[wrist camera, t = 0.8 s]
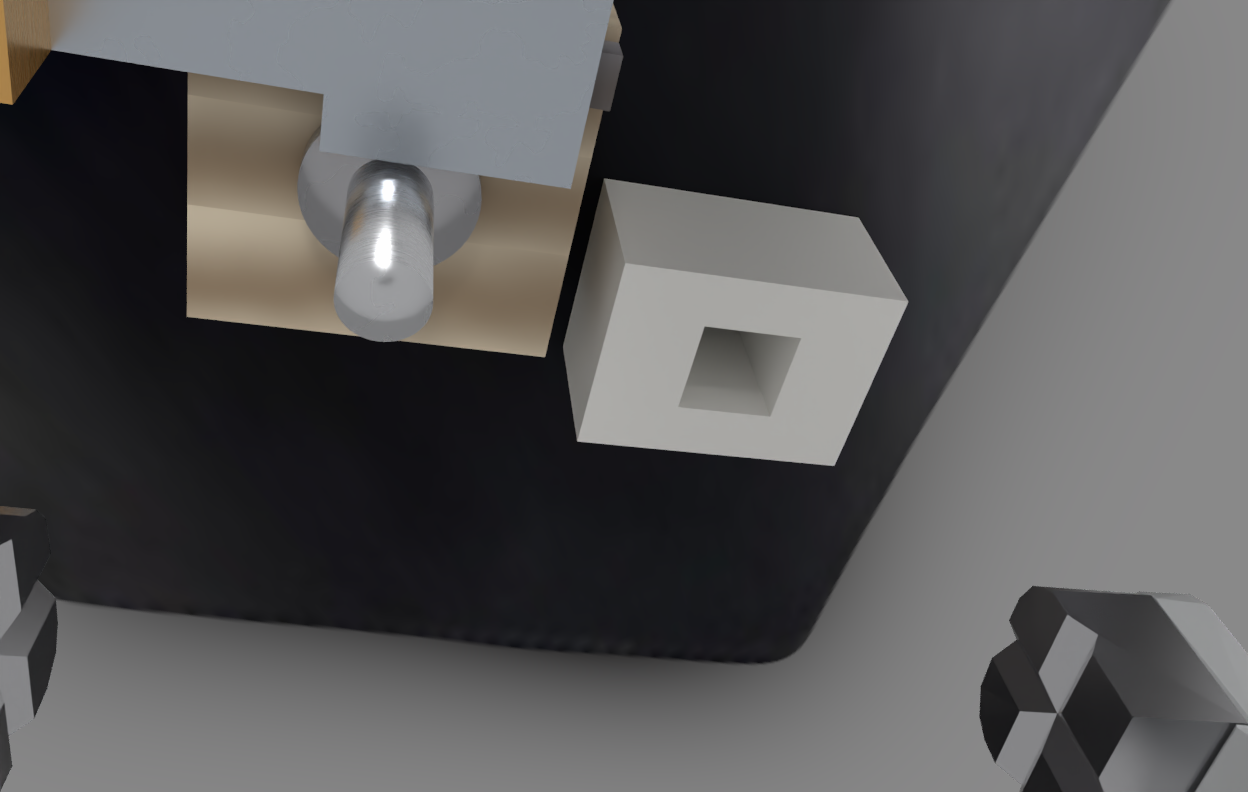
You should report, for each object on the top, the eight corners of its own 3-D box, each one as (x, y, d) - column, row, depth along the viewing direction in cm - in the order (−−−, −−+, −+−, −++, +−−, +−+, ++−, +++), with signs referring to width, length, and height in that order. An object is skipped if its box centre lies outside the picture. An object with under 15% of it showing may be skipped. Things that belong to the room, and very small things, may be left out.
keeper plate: (12, 90, 36) (-40, 161, 32) (-10, -145, 32) (-72, -96, 28) (568, 175, 40) (582, 247, 36) (612, -21, 36) (633, 36, 32)
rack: (604, 178, 49) (625, 263, 43) (858, 217, 51) (908, 301, 46) (562, 346, 54) (577, 441, 48) (796, 373, 57) (834, 465, 51)
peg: (320, 19, 43) (281, 194, 32) (487, 49, 44) (504, 225, 34) (309, 170, 47) (270, 373, 36) (463, 193, 48) (471, 394, 37)
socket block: (217, -105, 40) (181, -41, 34) (601, -28, 43) (626, 41, 38) (211, 237, 48) (181, 334, 42) (535, 279, 51) (547, 374, 46)
